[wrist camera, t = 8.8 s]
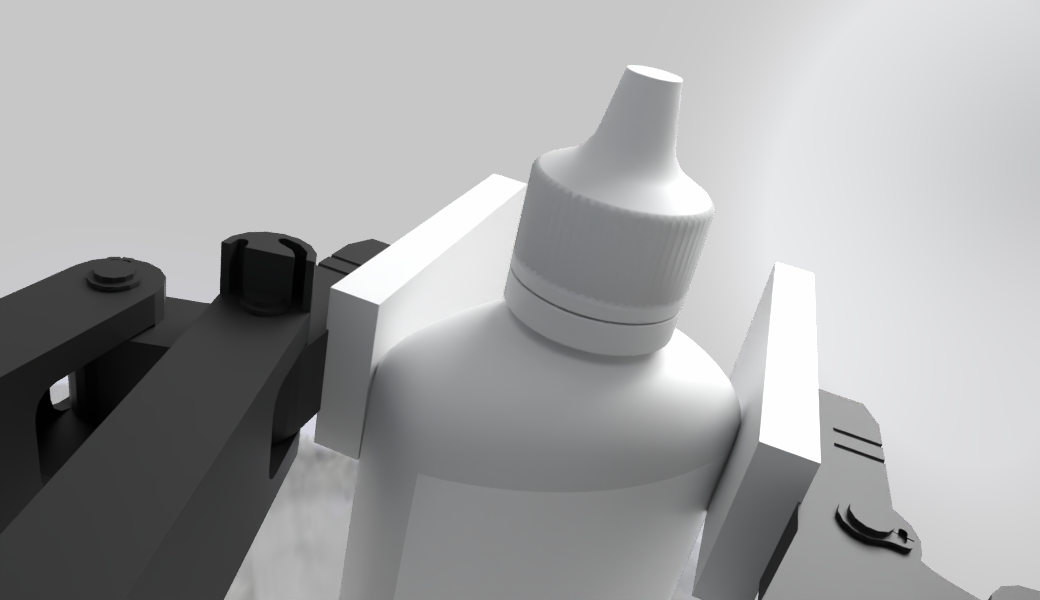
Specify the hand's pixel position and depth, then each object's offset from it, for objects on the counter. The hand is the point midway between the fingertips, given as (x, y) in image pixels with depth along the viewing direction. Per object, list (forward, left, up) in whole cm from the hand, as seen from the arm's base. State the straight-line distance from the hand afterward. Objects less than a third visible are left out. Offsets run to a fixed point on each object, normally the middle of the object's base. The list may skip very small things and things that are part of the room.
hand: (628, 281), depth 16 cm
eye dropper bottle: (0, +5, -7) cm, 9 cm away
